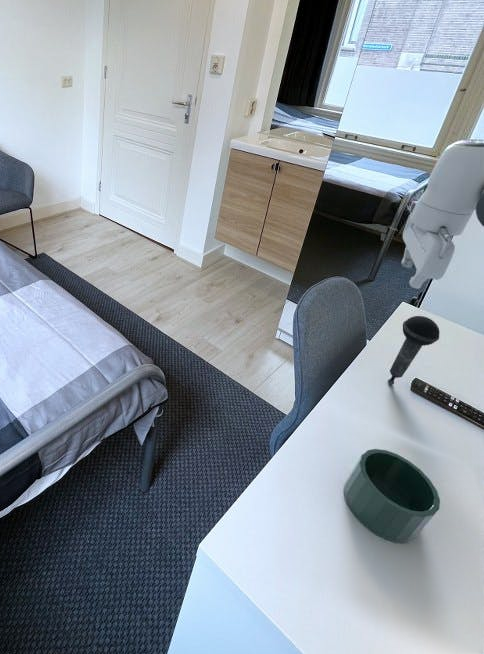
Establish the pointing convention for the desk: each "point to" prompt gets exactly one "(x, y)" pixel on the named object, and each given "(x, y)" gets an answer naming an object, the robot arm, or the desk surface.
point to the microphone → (413, 343)
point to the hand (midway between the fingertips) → (409, 275)
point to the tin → (390, 496)
